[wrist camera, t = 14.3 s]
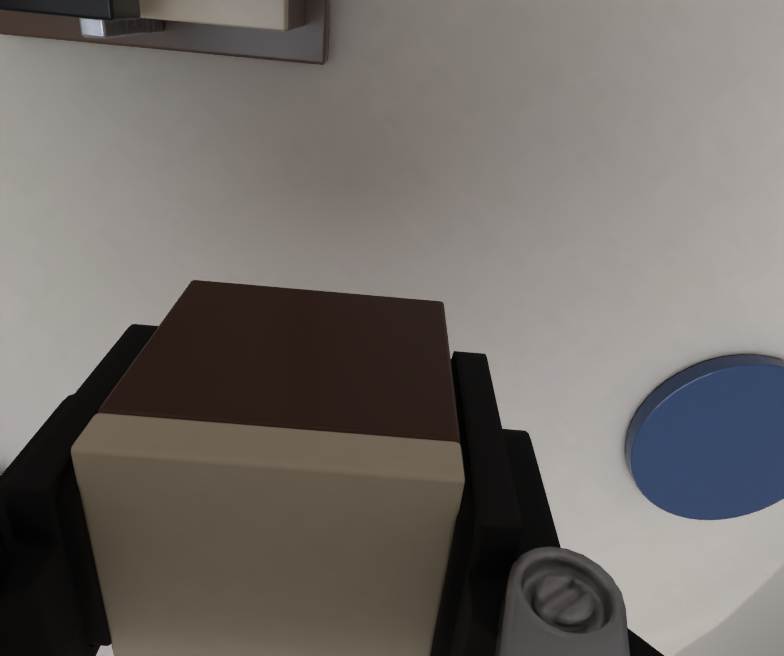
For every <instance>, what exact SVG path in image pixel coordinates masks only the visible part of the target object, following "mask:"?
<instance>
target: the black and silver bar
mask: <svg viewBox="0 0 784 656" xmlns="http://www.w3.org/2000/svg"><path fill="white" fill-rule="evenodd" d="M0 10H2V11H9V12H19V13H30V14H40V15H50V16H61V17H71V18H79V23H80V31H81V35H82V36H83V37H86V38H97V39H109V38H117V37H124V36H132V35H139V34H147V33H154V32H161V31H163V23H162V20H159V19H148V18H140V16H141V14H140V4H139V0H0Z"/></svg>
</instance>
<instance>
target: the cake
mask: <svg viewBox="0 0 784 656" xmlns="http://www.w3.org/2000/svg"><path fill="white" fill-rule="evenodd" d="M139 4H140V14H141V16H140V18H148V19H159V20H162V23H163V31H161V32H154V33H147V34H139V35H132V36H124V37H117V38H109V39H97V38H86V37H83V36H82V35H81V31H80V23H79V18H71V17H61V16H50V15H40V14H30V13H19V12H9V11H2V10H0V34H4V35H14V36H25V37H35V38H46V39H56V40H67V41H77V42H88V43H98V44H109V45H120V46H130V47H141V48H151V49H162V50H172V51H183V52H193V53H204V54H214V55H225V56H235V57H246V58H256V59H267V60H277V61H288V62H299V63H309V64H320V65H323V64H325V63H326V62H327V61H328V53H329V24H330V0H139Z"/></svg>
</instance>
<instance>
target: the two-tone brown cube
mask: <svg viewBox="0 0 784 656" xmlns="http://www.w3.org/2000/svg"><path fill="white" fill-rule="evenodd" d="M71 456H72V460H73V465H74V470H75V475H76V479H77V484H78V486H79V491H80V495H81V500H82V505H83V509H84V514H85V519H86V524H87V528H88V533H89V538H90V542H91V547H92V552H93V557H94V561H95V566H96V571H97V575H98V580H99V585H100V590H101V594H102V599H103V604H104V609H105V613H106V618H107V623H108V627H109V632H110V637H111V642H112V643H111V644H112V649H113V653H114V656H430V654H431V649H432V644H433V638H434V633H435V628H436V623H437V617H438V612H439V607H440V602H441V596H442V591H443V586H444V580H445V575H446V570H447V565H448V559H449V554H450V549H451V544H452V538H453V533H454V528H455V523H456V517H457V515H458V512H459V509H460V504H461V498H462V493H463V488H464V483H465V477H464V469H463V460H462V452H461V447H460V435H459V426H458V418H457V410H456V401H455V393H454V385H453V377H452V368H451V360H450V352H449V343H448V335H447V327H446V318H445V310H444V304H443V302H440V301H429V300H418V299H406V298H394V297H383V296H371V295H360V294H348V293H337V292H325V291H314V290H302V289H291V288H279V287H268V286H256V285H245V284H233V283H222V282H210V281H199V280H194V281H191V283H190V284H189V285H188V287H187V288H186V290H185V291H184V292H183V294H182V295H181V296H180V298H179V299H178V301H177V302H176V303H175V305H174V306H173V307H172V309H171V310H170V312H169V313H168V314H167V316H166V317H165V318H164V320H163V321H162V323H161V324H160V325H159V327H158V328H157V329H156V331H155V332H154V334H153V335H152V336H151V338H150V339H149V340H148V342H147V343H146V345H145V346H144V347H143V349H142V350H141V351H140V353H139V354H138V356H137V357H136V358H135V360H134V361H133V363H132V364H131V365H130V367H129V368H128V369H127V371H126V372H125V374H124V375H123V376H122V378H121V379H120V380H119V382H118V383H117V385H116V386H115V387H114V389H113V390H112V391H111V393H110V394H109V396H108V397H107V398H106V400H105V401H104V402H103V404H102V405H101V407H100V408H99V411H98V414H96V415H94V416H93V418H92V419H91V421H90V422H89V423H88V425H87V426H86V428H85V429H84V430H83V432H82V433H81V434H80V436H79V437H78V439H77V440H76V441H75V443H74V444H73V445H72V448H71Z"/></svg>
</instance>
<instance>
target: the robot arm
mask: <svg viewBox="0 0 784 656" xmlns="http://www.w3.org/2000/svg"><path fill="white" fill-rule="evenodd" d="M158 327H159V326H150V325H138V324H132V325H131V326H130V327H129V328H128V329H127V330H126V331H125V332H124V334H123V335H122V336H121V337H120V339H119V340H118V341H117V342H116V344H115V345H114V346H113V347H112V348H111V350H110V351H109V352H108V353H107V355H106V356H105V357H104V358H103V360H102V361H101V362H100V363H99V364H98V366H97V367H96V368H95V369H94V371H93V372H92V373H91V374H90V376H89V377H88V378H87V379H86V380H85V382H84V383H83V384H82V385H81V387H80V388H79V389H78V390H77V392H76V393H75V394H73V395H69V396H68V397H67V398H66V399H65V400H63V401H62V403H61V404H60V405H59V406H58V407H57V409H56V410H55V411H54V412H53V413H52V415H51V416H50V417H49V418H48V419H47V421H46V422H45V423H44V424H43V426H42V427H41V428H40V429H39V430H38V432H37V433H36V434H35V435H34V436H33V438H32V439H31V440H30V441H29V442H28V444H27V445H26V446H25V447H24V449H23V450H22V451H21V452H20V453H19V455H18V456H17V457H16V458H15V459H14V461H13V462H12V463H11V464H10V465H9V467H8V468H7V469H6V470H5V472H4V473H3V474H2V475H1V476H0V656H96V654H97V652H98V650H99V648H100V645H103V646H108V645H110V644H111V643H112V642H111V637H110V632H109V627H108V623H107V618H106V613H105V609H104V604H103V599H102V594H101V590H100V585H99V580H98V575H97V571H96V566H95V561H94V557H93V552H92V547H91V542H90V538H89V533H88V528H87V524H86V519H85V514H84V509H83V505H82V500H81V495H80V491H79V486H78V484H77V479H76V475H75V470H74V465H73V460H72V456H71V448H72V445H73V444H74V443H75V441H76V440H77V439H78V437H79V436H80V434H81V433H82V432H83V430H84V429H85V428H86V426H87V425H88V423H89V422H90V421H91V419H92V418H93V416H94V415H96V414H98V411H99V408H100V407H101V405H102V404H103V402H104V401H105V400H106V398H107V397H108V396H109V394H110V393H111V391H112V390H113V389H114V387H115V386H116V385H117V383H118V382H119V380H120V379H121V378H122V376H123V375H124V374H125V372H126V371H127V369H128V368H129V367H130V365H131V364H132V363H133V361H134V360H135V358H136V357H137V356H138V354H139V353H140V351H141V350H142V349H143V347H144V346H145V345H146V343H147V342H148V340H149V339H150V338H151V336H152V335H153V334H154V332H155V331H156V329H157V328H158ZM450 360H451V368H452V377H453V385H454V393H455V401H456V410H457V418H458V426H459V435H460V447H461V452H462V460H463V469H464V477H465V483H464V488H463V493H462V498H461V504H460V509H459V512H458V515H457V517H456V523H455V528H454V533H453V538H452V544H451V549H450V554H449V559H448V565H447V570H446V575H445V580H444V586H443V591H442V596H441V602H440V607H439V612H438V617H437V623H436V628H435V633H434V638H433V644H432V649H431V654H430V656H664V655H662V654H661V653H660V652H659V651H657V650H656V649H655V648H653V647H652V646H651V645H649V644H648V643H647V642H645V641H644V640H643V639H641V638H640V637H639V636H637V635H636V634H635V633H633V632H632V631H631V630H629V629H628V628H627V618H626V608H625V604H624V601H623V597H622V593H621V591H620V590H619V588H618V586H617V585H616V583H615V582H614V580H613V578H612V577H611V576H610V575H609V574H608V573H607V572H606V571H605V570H604V569H603V568H602V567H601V566H600V565H598V564H597V563H595V562H593V561H592V560H590V559H589V558H587V557H586V556H584V555H582V554H579V553H576V552H574V551H571V550H568V549H564V548H561V547H560V544H559V540H558V537H557V533H556V529H555V526H554V522H553V518H552V515H551V511H550V507H549V504H548V500H547V497H546V493H545V489H544V486H543V482H542V478H541V475H540V471H539V467H538V464H537V460H536V457H535V453H534V449H533V446H532V442H531V439H530V436H529V434H528V433H527V432H526V431H521V430H509V429H502V426H501V421H500V417H499V412H498V407H497V403H496V398H495V394H494V389H493V384H492V380H491V375H490V371H489V366H488V361H487V357H486V354H480V353H468V352H457V351H454V353H453V356H452V359H450Z"/></svg>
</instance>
